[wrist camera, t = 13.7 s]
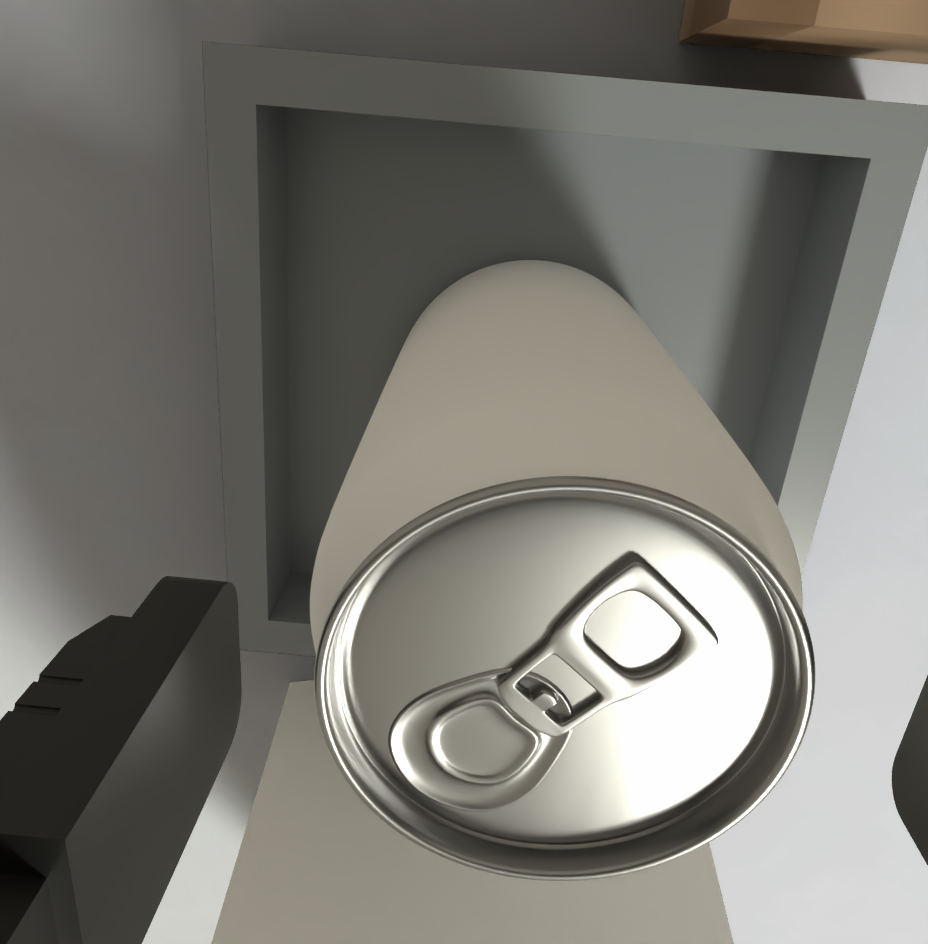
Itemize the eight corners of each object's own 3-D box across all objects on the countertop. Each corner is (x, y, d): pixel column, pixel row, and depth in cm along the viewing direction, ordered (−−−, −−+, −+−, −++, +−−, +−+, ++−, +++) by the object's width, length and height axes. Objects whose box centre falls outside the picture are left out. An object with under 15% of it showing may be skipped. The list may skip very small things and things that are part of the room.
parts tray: (870, 110, 18) (939, 106, 15) (733, 630, 23) (765, 696, 20) (247, 55, 18) (202, 41, 15) (261, 587, 23) (230, 649, 20)
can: (345, 383, 20) (159, 694, 9) (532, 195, 18) (588, 298, 7) (519, 545, 22) (542, 976, 11) (709, 390, 20) (976, 719, 9)
